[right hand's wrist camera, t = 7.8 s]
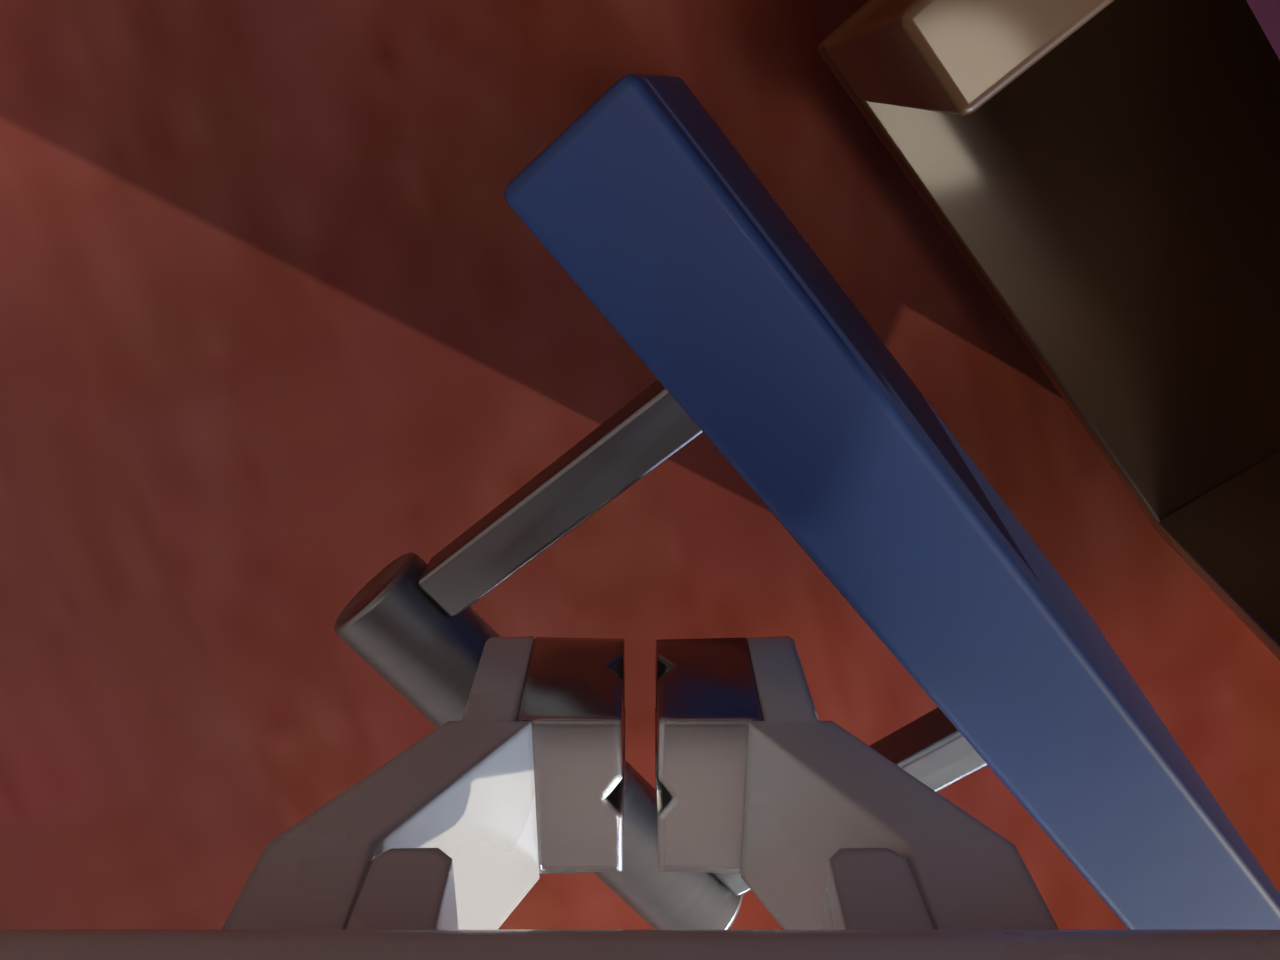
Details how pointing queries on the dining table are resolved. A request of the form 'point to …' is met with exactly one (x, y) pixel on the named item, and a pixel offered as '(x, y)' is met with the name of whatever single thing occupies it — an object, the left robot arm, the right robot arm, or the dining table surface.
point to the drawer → (909, 427)
